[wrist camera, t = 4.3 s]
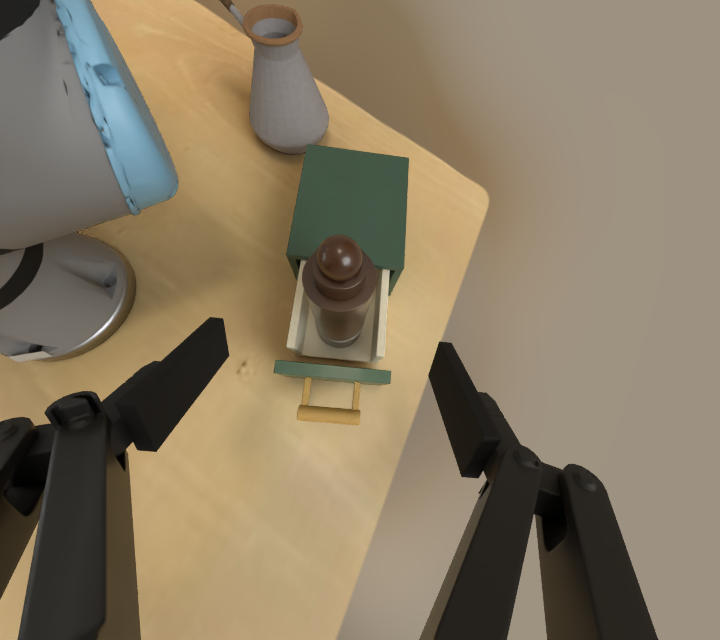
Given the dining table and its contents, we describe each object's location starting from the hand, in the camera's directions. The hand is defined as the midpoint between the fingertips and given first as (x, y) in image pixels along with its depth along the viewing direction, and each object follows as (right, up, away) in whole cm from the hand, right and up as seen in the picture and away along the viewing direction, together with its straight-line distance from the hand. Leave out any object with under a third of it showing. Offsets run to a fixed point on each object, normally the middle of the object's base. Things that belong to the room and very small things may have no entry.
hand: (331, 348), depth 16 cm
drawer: (-1, -1, +15) cm, 15 cm away
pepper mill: (-1, +1, +15) cm, 15 cm away
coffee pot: (-13, +34, +25) cm, 44 cm away
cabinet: (0, +13, +20) cm, 24 cm away
